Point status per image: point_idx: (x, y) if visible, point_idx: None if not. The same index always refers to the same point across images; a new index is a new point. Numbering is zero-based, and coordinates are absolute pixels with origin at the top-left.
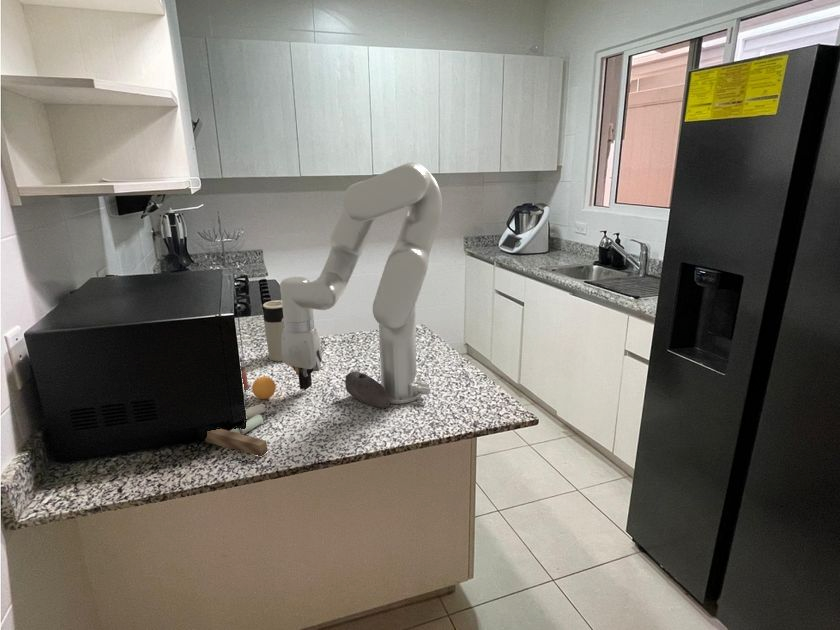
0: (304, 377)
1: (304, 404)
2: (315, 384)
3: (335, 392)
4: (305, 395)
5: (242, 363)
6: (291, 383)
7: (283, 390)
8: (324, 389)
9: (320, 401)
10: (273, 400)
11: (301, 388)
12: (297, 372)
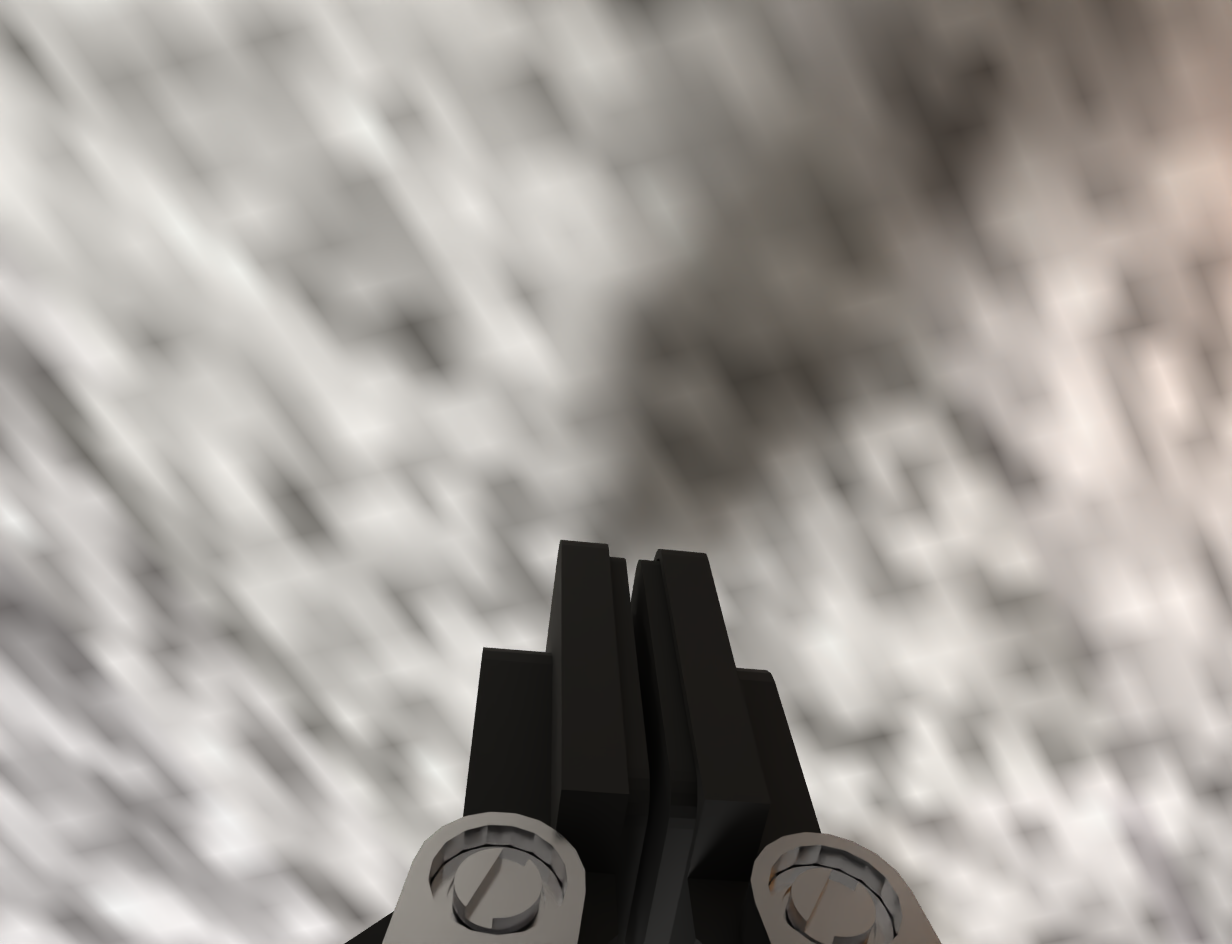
0: (554, 803)
1: (334, 70)
2: None
3: (22, 718)
4: (557, 465)
5: None
6: (1068, 788)
7: (1131, 530)
8: (314, 758)
9: (53, 312)
10: (1213, 55)
11: (659, 552)
12: (855, 934)
